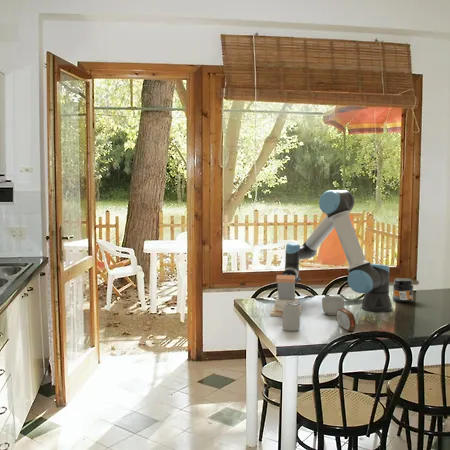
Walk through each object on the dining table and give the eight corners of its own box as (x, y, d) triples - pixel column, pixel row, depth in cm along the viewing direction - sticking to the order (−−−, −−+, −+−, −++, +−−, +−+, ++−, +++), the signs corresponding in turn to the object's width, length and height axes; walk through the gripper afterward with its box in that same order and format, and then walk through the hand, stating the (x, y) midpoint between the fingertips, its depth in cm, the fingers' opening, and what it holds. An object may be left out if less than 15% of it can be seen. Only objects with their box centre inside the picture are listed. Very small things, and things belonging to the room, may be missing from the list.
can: (281, 327, 246) (281, 301, 245) (297, 327, 247) (298, 301, 246) (284, 332, 239) (284, 305, 238) (301, 332, 240) (301, 304, 239)
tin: (356, 333, 239) (356, 314, 238) (349, 333, 238) (349, 314, 237) (341, 324, 254) (342, 306, 253) (335, 324, 253) (335, 306, 252)
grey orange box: (278, 295, 275) (276, 274, 267) (295, 296, 274) (294, 275, 265) (277, 299, 273) (276, 278, 265) (295, 300, 272) (294, 279, 263)
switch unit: (274, 307, 285) (274, 294, 284) (301, 308, 282) (302, 296, 282) (270, 315, 267) (270, 302, 267) (299, 317, 265) (299, 304, 264)
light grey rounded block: (343, 317, 266) (344, 301, 265) (320, 316, 268) (321, 299, 267) (343, 310, 279) (343, 295, 279) (321, 309, 281) (322, 293, 281)
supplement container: (403, 304, 295) (404, 282, 294) (388, 300, 304) (389, 278, 303) (417, 302, 300) (417, 280, 299) (401, 298, 309) (402, 277, 308)
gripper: (301, 283, 292) (297, 292, 269) (277, 281, 295) (271, 290, 272) (302, 269, 292) (298, 277, 269) (277, 267, 294) (271, 275, 271)
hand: (284, 284), depth 270 cm, fingers closed
